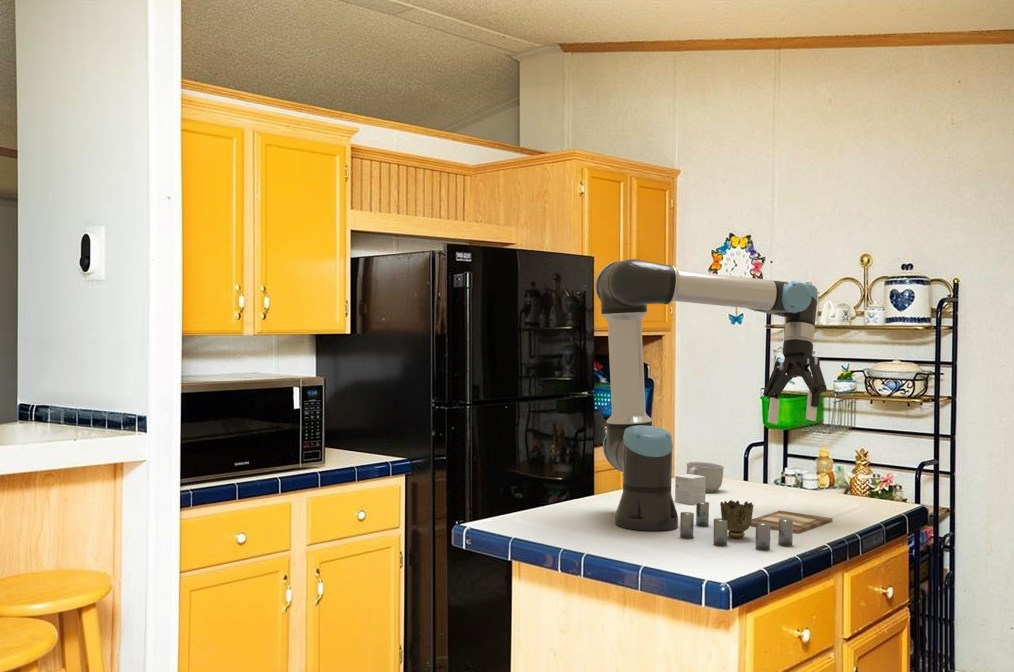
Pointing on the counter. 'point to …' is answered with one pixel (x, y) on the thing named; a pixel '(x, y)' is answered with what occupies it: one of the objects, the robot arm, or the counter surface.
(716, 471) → the teacup
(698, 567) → the counter surface
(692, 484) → the product box
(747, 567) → the counter surface
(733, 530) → the cup
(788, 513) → the walnut pad
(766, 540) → the spacer field
